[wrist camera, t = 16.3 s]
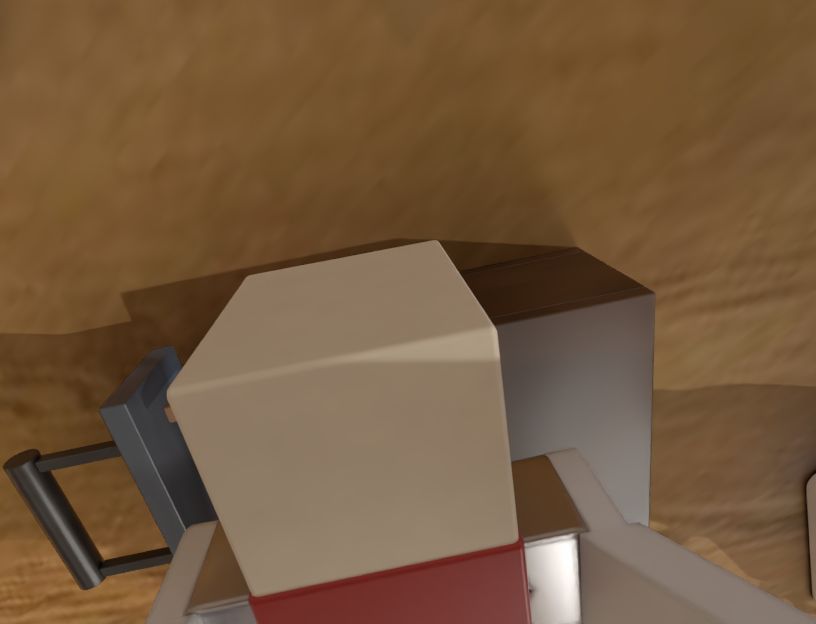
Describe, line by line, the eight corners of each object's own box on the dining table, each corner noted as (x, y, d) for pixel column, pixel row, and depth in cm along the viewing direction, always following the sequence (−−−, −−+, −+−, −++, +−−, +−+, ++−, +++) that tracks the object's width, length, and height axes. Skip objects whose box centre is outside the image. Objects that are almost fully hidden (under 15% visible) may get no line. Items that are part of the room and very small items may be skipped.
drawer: (137, 537, 30) (89, 626, 25) (46, 370, 26) (-37, 436, 20) (439, 473, 31) (456, 548, 25) (405, 298, 26) (417, 344, 21)
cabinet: (366, 486, 32) (367, 591, 25) (315, 300, 26) (298, 365, 19) (586, 440, 32) (649, 530, 25) (578, 247, 27) (656, 292, 20)
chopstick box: (489, 573, 11) (549, 780, 8) (347, 603, 11) (344, 825, 7) (440, 236, 8) (505, 328, 4) (243, 274, 8) (152, 397, 4)
